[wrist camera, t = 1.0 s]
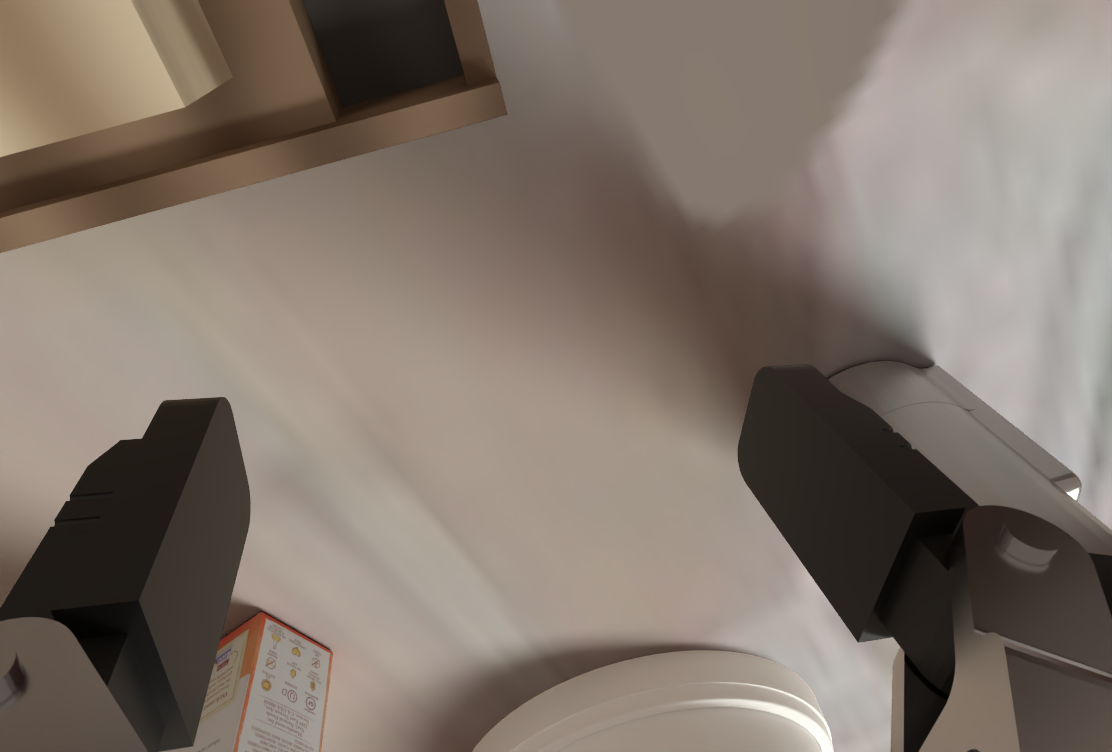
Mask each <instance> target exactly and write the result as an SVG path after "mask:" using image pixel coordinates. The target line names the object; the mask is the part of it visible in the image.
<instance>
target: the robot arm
mask: <svg viewBox="0 0 1112 752" xmlns="http://www.w3.org/2000/svg"><path fill="white" fill-rule="evenodd" d="M738 463H739V468H740V472H741V474H742V477H743V479H744V481H745V482H746V484H747V485H748V487H749V488H750V490H751V491H752V493H753V494H754V495H755V497H756V498H757V500H758V501H759V502H760V504H761V505H762V507H763V508H764V510H765V511H766V512H767V514H768V515H769V517H770V518H771V520H772V521H773V522H774V524H775V525H776V527H777V528H778V529H779V531H780V532H781V534H782V535H783V537H784V538H785V539H786V541H787V542H788V544H789V545H790V546H791V548H792V549H793V551H794V552H795V554H796V555H797V556H798V558H799V559H800V561H801V562H802V564H803V565H804V566H805V568H806V569H807V571H808V572H809V573H810V575H811V576H812V578H813V579H814V581H815V582H816V583H817V585H818V586H819V588H820V589H821V591H822V592H823V593H824V595H825V596H826V598H827V599H828V600H829V602H830V603H831V605H832V606H833V608H834V609H835V610H836V612H837V613H838V615H839V616H840V617H841V619H842V620H843V622H844V623H845V625H846V626H847V627H848V629H849V630H850V632H851V633H852V635H853V636H854V637H855V639H856V640H857V642H858V643H859V642H865V641H871V640H878V639H884V638H890V637H893V638H894V639H895V640H896V641H897V643H898V644H899V645H900V649H899V651H898V653H897V655H896V657H895V659H894V662H893V679H892V720H891V752H1112V530H1111V529H1109V528H1108V527H1107V526H1106V525H1105V524H1103V523H1102V522H1101V521H1100V520H1099V519H1097V518H1096V517H1095V516H1094V515H1093V514H1091V513H1090V512H1089V511H1088V510H1087V509H1085V508H1084V507H1083V506H1082V505H1081V504H1079V503H1078V499H1079V496H1080V493H1081V486H1082V485H1081V481H1080V479H1079V478H1078V476H1077V475H1076V474H1075V473H1073V472H1072V471H1071V470H1070V469H1068V468H1067V467H1066V466H1064V465H1063V464H1062V463H1061V462H1059V461H1058V460H1057V459H1056V458H1054V457H1053V456H1052V455H1051V454H1049V453H1048V452H1047V451H1046V450H1044V449H1043V448H1042V447H1040V446H1039V445H1038V444H1037V443H1035V442H1034V441H1033V440H1032V439H1030V438H1029V437H1028V436H1027V435H1025V434H1024V433H1023V432H1021V431H1020V430H1019V429H1018V428H1016V427H1015V426H1014V425H1013V424H1011V423H1010V422H1009V421H1008V420H1006V419H1005V418H1004V417H1003V416H1001V415H1000V414H999V413H997V412H996V411H995V410H994V409H992V408H991V407H990V406H989V405H987V404H986V403H985V402H984V401H982V400H981V399H980V398H978V397H977V396H976V395H975V394H973V393H972V392H971V391H970V390H968V389H967V388H966V387H965V386H963V385H962V384H961V383H960V382H958V381H957V380H956V379H954V378H953V377H952V376H951V375H949V374H948V373H947V372H946V371H944V370H943V369H942V368H941V367H939V366H932V367H929V368H923V369H919V368H915V367H912V366H910V365H907V364H905V363H902V362H893V361H878V362H869V363H865V364H862V365H858V366H854V367H851V368H849V369H847V370H845V371H843V372H840V373H838V374H836V375H834V376H833V377H831V378H830V379H828V380H827V379H826V378H825V377H824V376H823V375H822V374H821V373H820V372H819V371H818V370H817V369H816V368H814V367H813V366H811V365H808V364H802V365H785V366H768V367H763V368H761V369H760V370H759V371H758V373H757V374H756V377H755V379H754V383H753V387H752V391H751V395H750V399H749V403H748V407H747V411H746V415H745V419H744V423H743V427H742V432H741V436H740V440H739V444H738ZM54 521H55V526H54V527H50V528H49V530H48V532H47V533H46V535H45V537H44V538H43V540H42V541H41V543H40V545H39V546H38V548H37V550H36V551H35V553H34V554H33V556H32V558H31V559H30V561H29V563H28V564H27V566H26V567H25V569H24V571H23V572H22V574H21V576H20V577H19V579H18V580H17V582H16V584H15V585H14V587H13V589H12V590H11V592H10V593H9V595H8V597H7V598H6V600H5V602H4V603H3V605H2V607H1V608H0V752H161V751H168V750H174V749H180V748H186V747H193V745H194V741H195V737H196V733H197V729H198V726H199V722H200V718H201V714H202V710H203V706H204V702H205V698H206V694H207V690H208V686H209V682H210V678H211V674H212V670H213V666H214V663H215V659H216V655H217V651H218V647H219V643H220V639H221V635H222V631H223V627H224V623H225V619H226V615H227V611H228V607H229V604H230V600H231V596H232V592H233V588H234V584H235V580H236V576H237V572H238V568H239V564H240V560H241V556H242V552H243V548H244V544H245V541H246V537H247V533H248V528H249V522H250V491H249V485H248V480H247V475H246V471H245V466H244V462H243V457H242V453H241V448H240V444H239V440H238V435H237V431H236V426H235V422H234V417H233V413H232V409H231V406H230V404H229V402H228V400H227V399H226V398H225V397H217V398H200V399H183V400H166V401H163V402H162V403H161V405H160V406H159V408H158V410H157V412H156V414H155V415H154V417H153V419H152V421H151V423H150V425H149V427H148V428H147V430H146V432H145V434H144V436H143V438H142V439H131V440H120V441H119V442H118V443H117V444H115V445H114V446H113V447H112V448H110V449H109V450H108V451H106V452H105V453H104V454H103V455H101V456H100V457H99V458H98V459H96V460H95V461H94V462H92V463H91V464H90V465H89V466H88V467H87V468H86V470H85V471H84V473H83V475H82V476H81V478H80V480H79V481H78V483H77V484H76V486H75V488H74V489H73V491H72V493H71V494H70V501H66V502H65V504H64V506H63V507H62V509H61V511H60V512H59V514H58V515H57V517H56V519H55V520H54Z"/></svg>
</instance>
